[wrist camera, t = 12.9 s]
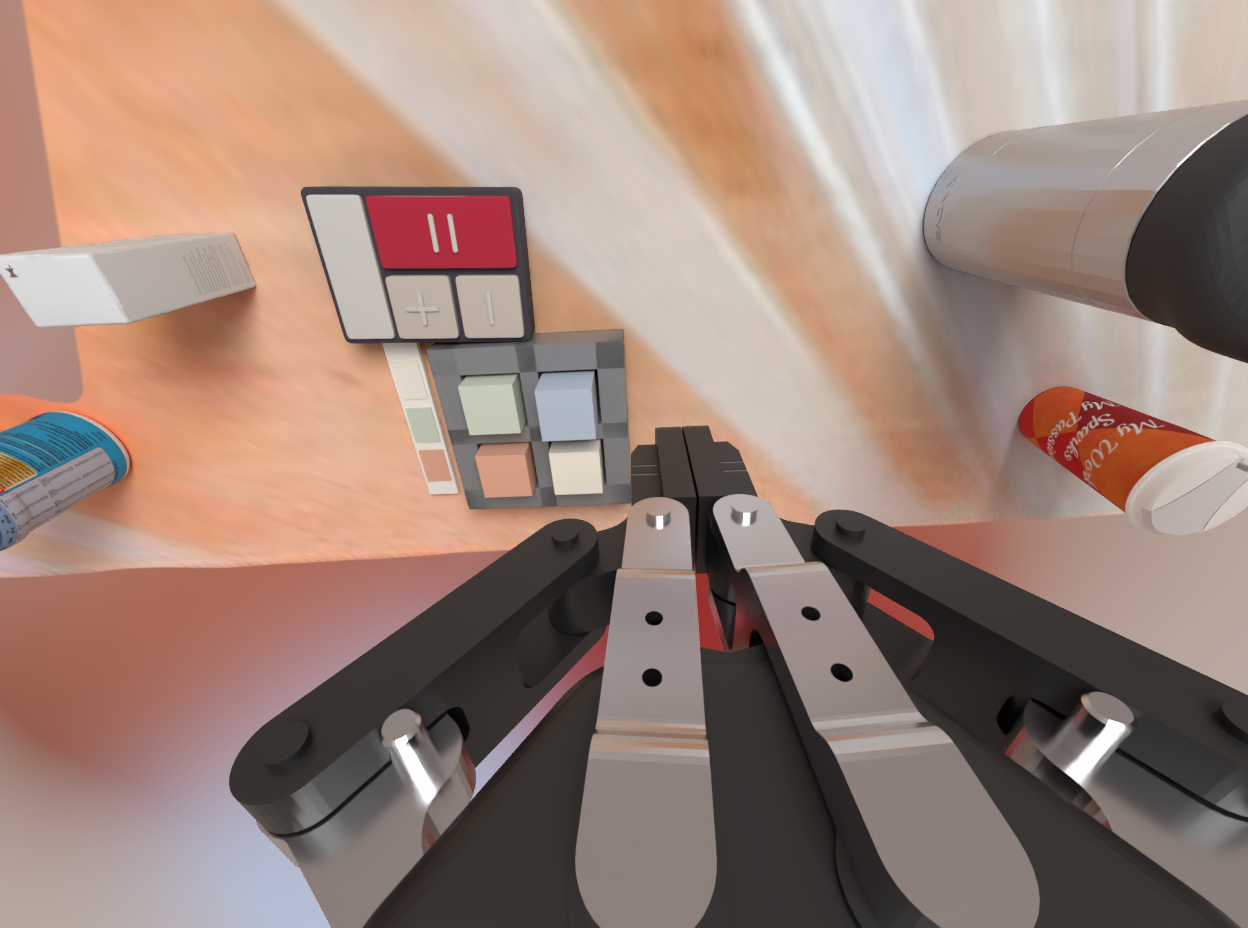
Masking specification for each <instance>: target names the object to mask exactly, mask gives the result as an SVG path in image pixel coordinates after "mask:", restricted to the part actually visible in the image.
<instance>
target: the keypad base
mask: <svg viewBox="0 0 1248 928" xmlns="http://www.w3.org/2000/svg"><path fill="white" fill-rule="evenodd" d="M426 351H427V355H428V358H429V362H430V366H431V370H432V373H433V377H434V381H435V384H436V388H437V392H438V395H439V399H440V403H441V406H442V410H443V414H444V417H445V421H446V425H447V428H448V432H449V436H450V439H451V443H452V447H453V450H454V454H455V458H456V462H457V465H458V469H459V473H460V476H461V480H462V484H463V487H464V491H465V495H466V498H467V502H468V506H469V509H491V508H518V507H544V506H571V505H597V504H624V503H631V470H630V450H629V431H628V411H627V391H626V371H625V351H624V331H623V329H615V330H595V331H575V332H554V333H534V334H533V335H532V337H531V339H530V340H529V341H524V342H436V343H434V344H433V345H432V346H431V347H430V348H428V349H427V350H426ZM588 369H597V371H598V383H599V395H600V407H598V426H597V435H596V439H603V444H604V456H605V466H604V483H603V493H594V494H568V495H555V492H554V485H553V479H552V472H551V465H550V459H549V451H550V447H551V444H552V441H542V436H541V430H540V424H539V417H538V411H537V405H536V398H535V392H534V391H535V389H536V386H537V384H538V382H539V380H540V377H541V375H542V373H546V371H567V370H588ZM502 373H520V379H521V385H522V390H523V396H524V402H525V408H526V414H527V420H526V422H525V424H524V427H523V429H522V432H521V433H512V434H488V435H469V430H468V426H467V422H466V418H465V414H464V410H463V406H462V402H461V398H460V394H459V390H458V386H459V385H460V383H461V382H462V381H463V380H464V379H465V377H466V376H467V375H480V374H502ZM508 442H531V443H532V449H533V454H534V460H535V466H536V472H537V478H538V479H537V482H536V485H535V489H534V492H533V495H532V496H518V497H492V498H485V495H484V491H483V487H482V483H481V479H480V475H479V471H478V467H477V463H476V459H475V456H476V454H477V452H478V450H479V448H480V447H481V445H482V444H485V443H508Z"/></svg>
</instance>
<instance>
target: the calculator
mask: <svg viewBox="0 0 1248 928" xmlns="http://www.w3.org/2000/svg"><path fill="white" fill-rule="evenodd" d="M301 196H302V199H303V203H304V206H305V209H306V213H307V216H308V219H309V222H310V226H311V229H312V232H313V236H314V239H315V242H316V245H317V249H318V252H319V255H320V258H321V262H322V265H323V268H324V272H325V275H326V278H327V281H328V285H329V288H330V291H331V295H332V298H333V301H334V304H335V308H336V311H337V314H338V317H339V321H340V324H341V327H342V331H343V334H344V337H345V339H346V341H347V342H349V343H436V342H524V341H529V340H530V339H531V337H532V335H533V333H534V330H535V324H534V314H533V303H532V292H531V282H530V271H529V260H528V250H527V239H526V229H525V218H524V207H523V197H522V192H521V190H520V189H519V188H516V187H304V188H302V190H301Z"/></svg>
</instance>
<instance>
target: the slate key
mask: <svg viewBox="0 0 1248 928" xmlns="http://www.w3.org/2000/svg"><path fill="white" fill-rule="evenodd" d="M534 392H535V398H536V405H537V411H538V417H539V424H540V430H541V436H542V441H566V440H590V439H596V435H597V426H598V407H597V395H596V383H595V372H594V371H576V372H554V373H542V375H541V377H540V380H539V382H538V384H537V386H536V389H535V391H534Z"/></svg>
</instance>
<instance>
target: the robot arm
mask: <svg viewBox="0 0 1248 928" xmlns="http://www.w3.org/2000/svg"><path fill="white" fill-rule="evenodd" d="M924 237H925V240H926V243H927V247H928V249H929V250H930V252H931V254H932V255H933V257H934V258H935V259H936V260H937V261H939V262H940V263H941V264H942V265H945V266H947V267H949V268H951V269H955V270H958V271H962V272H966V273H970V274H973V275H977V276H981V277H984V278H988V279H991V280H995V281H999V282H1003V283H1006V284H1010V285H1014V286H1018V287H1022V288H1025V289H1029V290H1033V291H1037V292H1040V293H1044V294H1048V295H1052V296H1056V297H1059V298H1063V299H1067V300H1071V301H1074V302H1078V303H1082V304H1086V305H1090V306H1093V307H1097V308H1101V309H1105V310H1108V311H1113V312H1117V313H1121V314H1125V315H1129V316H1132V317H1136V318H1140V319H1144V320H1147V321H1151V322H1155V323H1159V324H1162V325H1166V326H1169V327H1173V328H1175V329H1176V330H1177V331H1178V332H1179V333H1180V334H1181V335H1182V336H1183V337H1185V338H1186V339H1188V340H1189V341H1190V342H1192V343H1194V344H1196V345H1198V346H1200V347H1202V348H1204V349H1207V350H1209V351H1212V352H1215V353H1218V354H1221V355H1223V356H1227V357H1230V358H1233V359H1236V360H1239V361H1242V362H1245V363H1248V100H1241V101H1233V102H1227V103H1221V104H1214V105H1206V106H1199V107H1191V108H1183V109H1176V110H1168V111H1161V112H1153V113H1146V114H1138V115H1131V116H1123V117H1116V118H1108V119H1100V120H1093V121H1085V122H1078V123H1070V124H1063V125H1054V126H1045V127H1038V128H1030V129H1023V130H1015V131H1008V132H1002V133H999V134H995V135H992V136H989V137H987V138H985V139H983V140H981V141H979V142H977V143H975V144H973V145H972V146H971V147H969V148H968V149H967V150H965V151H964V152H963V153H961V154H960V155H959V156H958V157H957V158H956V159H955V160H954V161H953V162H952V163H951V164H950V165H949V166H948V168H947V169H946V170H945V172H944V173H943V174H942V176H941V177H940V179H939V180H938V182H937V184H936V186H935V187H934V189H933V191H932V193H931V195H930V198H929V201H928V204H927V207H926V212H925V218H924ZM631 502H632V507H631V508H630V510H629V513H628V517H627V518H626V519H625V520H624V521H623V522H622V523H620V524H618V525H617V526H614V527H612V528H609V529H606V530H602V531H598V532H597V531H596V529H595V528H594V527H593V526H592V525H591V524H590V523H588V522H586V521H583V520H579V519H562V520H557V521H554V522H552V523H550V524H547V525H546V526H544V527H543V528H541V529H540V530H538V531H537V532H536V533H534V534H533V535H531V536H530V537H529V538H527V539H526V540H524V541H523V542H522V543H520V544H519V545H517V546H516V547H514V548H513V549H512V550H510V551H509V552H508V553H506V554H505V555H503V556H502V557H500V558H499V559H497V560H496V561H495V562H493V563H492V564H490V565H489V566H488V567H486V568H485V569H484V570H482V571H481V572H479V573H478V574H477V575H475V576H474V577H472V578H471V579H469V580H468V581H466V582H465V583H464V584H462V585H461V586H459V587H458V588H456V589H455V590H454V591H452V592H451V593H449V594H448V595H447V596H445V597H444V598H442V599H441V600H440V601H438V602H437V603H435V604H434V605H432V606H431V607H430V608H428V609H427V610H426V611H424V612H423V613H421V614H420V615H418V616H417V617H416V618H414V619H413V620H411V621H410V622H408V623H407V624H406V625H404V626H403V627H401V628H400V629H399V630H397V631H396V632H394V633H393V634H391V635H390V636H389V637H387V638H386V639H384V640H383V641H382V642H380V643H379V644H377V645H376V646H375V647H373V648H372V649H370V650H369V651H368V652H366V653H365V654H363V655H362V656H360V657H359V658H358V659H356V660H355V661H353V662H352V663H351V664H349V665H348V666H346V667H345V668H343V669H342V670H341V671H339V672H338V673H336V674H335V675H334V676H332V677H331V678H329V679H328V680H326V681H325V682H324V683H322V684H321V685H319V686H318V687H317V688H315V689H314V690H312V691H311V692H310V693H308V694H307V695H305V696H304V697H302V698H301V699H300V700H298V701H297V702H296V703H294V704H293V705H291V706H290V707H288V708H287V709H285V710H284V711H283V712H281V713H280V714H279V715H277V716H276V717H274V718H273V719H271V720H270V721H269V722H267V723H266V724H265V725H264V726H262V727H261V728H260V729H259V730H258V731H257V732H256V733H255V734H254V735H253V736H252V737H251V738H250V739H249V740H248V742H247V743H246V744H245V745H244V747H243V748H242V749H241V751H240V753H239V754H238V756H237V757H236V759H235V762H234V764H233V766H232V769H231V773H230V778H229V779H230V780H229V786H230V791H231V793H232V795H233V796H234V797H235V798H236V799H237V801H238V802H239V803H240V804H241V805H242V806H243V807H244V808H245V809H246V810H247V811H248V812H249V813H250V814H251V815H252V816H253V817H254V818H255V819H256V822H257V825H258V827H259V829H260V830H261V831H262V832H263V833H264V834H265V835H266V836H267V837H268V838H269V839H270V840H271V841H272V842H273V843H274V844H275V845H276V846H277V847H278V848H279V849H280V850H281V851H282V852H283V853H284V854H285V855H286V856H287V858H289V860H290V861H291V862H292V863H293V864H294V865H295V866H297V867H299V868H300V869H301V871H302V873H303V875H304V877H305V878H306V880H307V882H308V884H309V886H310V888H311V890H312V892H313V893H314V895H315V897H316V899H317V901H318V903H319V905H320V907H321V909H322V911H323V912H324V914H325V916H326V918H327V920H328V922H329V924H330V926H331V928H1248V695H1246V694H1244V693H1242V692H1240V691H1238V690H1235V689H1233V688H1231V687H1229V686H1227V685H1225V684H1223V683H1220V682H1218V681H1216V680H1214V679H1212V678H1210V677H1208V676H1206V675H1204V674H1201V673H1199V672H1197V671H1195V670H1193V669H1191V668H1188V667H1186V666H1184V665H1182V664H1180V663H1178V662H1176V661H1174V660H1172V659H1170V658H1168V657H1165V656H1163V655H1161V654H1159V653H1157V652H1154V651H1153V650H1151V649H1148V648H1146V647H1144V646H1142V645H1140V644H1138V643H1136V642H1134V641H1131V640H1129V639H1127V638H1125V637H1123V636H1121V635H1119V634H1117V633H1114V632H1112V631H1110V630H1108V629H1106V628H1104V627H1102V626H1100V625H1097V624H1095V623H1093V622H1091V621H1089V620H1087V619H1084V618H1082V617H1080V616H1078V615H1076V614H1074V613H1072V612H1070V611H1067V610H1066V609H1064V608H1061V607H1059V606H1057V605H1055V604H1053V603H1051V602H1049V601H1047V600H1044V599H1042V598H1040V597H1038V596H1036V595H1034V594H1031V593H1029V592H1027V591H1025V590H1023V589H1021V588H1019V587H1017V586H1015V585H1012V584H1010V583H1008V582H1006V581H1004V580H1002V579H1000V578H998V577H996V576H993V575H991V574H989V573H987V572H985V571H983V570H980V569H979V568H976V567H974V566H972V565H970V564H968V563H966V562H963V561H961V560H959V559H957V558H955V557H953V556H951V555H949V554H947V553H945V552H942V551H940V550H938V549H936V548H934V547H932V546H930V545H928V544H926V543H923V542H921V541H919V540H917V539H915V538H913V537H911V536H908V535H906V534H904V533H902V532H900V531H898V530H896V529H894V528H892V527H889V526H887V525H885V524H883V523H881V522H879V521H877V520H875V519H872V518H870V517H868V516H866V515H864V514H861V513H858V512H854V511H849V510H830V511H827V512H824V513H822V514H820V515H819V516H818V517H817V519H816V521H815V525H814V526H813V525H808V524H802V523H796V522H791V521H787V520H784V519H781V518H779V517H778V515H777V513H776V511H775V510H774V508H773V507H772V506H771V505H770V504H769V503H768V502H767V501H765V500H763V499H761V498H759V497H758V496H757V493H756V491H755V489H754V486H753V484H752V481H751V479H750V477H749V474H748V472H747V471H746V467H745V465H744V463H743V460H742V457H741V455H740V453H739V450H738V449H736V448H735V447H734V446H732V445H731V444H730V443H729V442H714V441H713V438H712V435H711V432H710V429H709V426H684V427H682V430H681V427H662V428H655V445H638V446H637V447H636V449H635V450H634V451H633V452H632V454H631ZM694 564H695V569H696V573H707V575H708V580H709V587H708V600H709V604H710V607H711V610H712V614H713V617H714V621H715V624H716V627H717V631H718V634H719V637H720V641H721V644H722V647H723V651H724V652H722V651H717V650H712V649H706V648H701V647H700V640H699V627H698V611H697V597H696V582H695V572H694ZM871 588H872V589H874V590H875V591H877V592H879V593H881V594H883V595H884V596H886V597H888V598H889V599H891V600H893V601H895V602H896V603H898V604H900V605H902V606H903V607H905V608H907V609H908V610H910V611H912V612H914V613H915V614H917V615H919V616H920V617H922V618H923V619H924V620H926V622H928V624H929V625H930V626H931V628H932V630H933V632H934V641H933V640H930V639H928V638H926V637H925V636H923V635H921V634H920V633H918V632H916V631H915V630H913V629H911V628H910V627H908V626H906V625H905V624H903V623H901V622H900V621H898V620H896V619H895V618H893V617H891V616H890V615H888V614H887V613H885V612H883V611H882V610H880V609H878V608H877V607H874V606H873V605H872V604H870V603H868V602H867V601H868V597H869V594H870V591H871ZM607 625H610V626H609V634H608V641H607V649H606V656H605V664H604V666H603V667H600V668H599V669H597V670H595V671H593V672H591V673H589V674H588V675H586V676H585V677H584V678H582V679H581V680H579V681H578V682H577V683H576V684H575V685H574V686H572V687H571V688H570V689H569V690H568V691H567V692H566V693H565V694H564V695H563V696H562V697H561V699H560V700H559V701H558V702H557V703H556V704H555V705H554V707H553V708H552V709H551V710H550V711H549V712H548V713H547V715H546V716H545V717H544V718H543V719H542V720H541V721H540V723H539V724H538V725H537V726H536V727H535V728H534V729H533V731H532V732H531V733H530V734H529V735H528V736H527V737H526V739H525V740H524V741H523V742H522V743H521V744H520V745H519V747H518V748H517V749H516V750H515V751H514V753H512V755H511V756H510V757H509V758H508V759H507V760H506V761H505V763H504V764H503V765H502V766H501V767H500V768H499V769H498V771H497V772H496V773H495V774H494V775H493V776H492V777H491V779H490V780H489V781H488V782H487V783H486V784H485V785H484V787H483V788H482V789H481V790H480V791H479V792H478V793H477V795H476V796H475V797H474V798H473V799H472V801H471V798H472V796H473V793H474V789H475V784H476V771H475V768H476V767H477V765H479V763H480V762H481V761H482V760H483V759H484V758H485V757H486V756H487V755H488V754H489V753H490V752H491V751H492V750H493V749H494V748H495V747H496V746H497V745H498V744H499V743H500V742H501V741H502V740H503V739H504V738H505V737H506V736H507V735H508V734H509V732H510V731H511V730H512V729H513V728H514V727H515V726H516V725H517V724H518V723H519V722H520V721H521V720H522V719H523V718H524V717H525V716H526V715H527V714H528V713H529V712H530V711H531V710H532V709H533V707H535V706H536V704H538V702H539V701H540V700H541V699H542V698H543V697H544V696H545V695H546V694H547V693H548V692H549V691H550V690H551V689H552V688H553V687H554V686H555V685H556V684H557V683H558V682H559V681H560V680H561V679H562V678H563V677H564V676H565V674H567V673H568V671H569V670H570V669H571V668H572V667H573V666H574V665H575V664H576V663H577V662H578V661H579V660H580V659H581V658H582V657H583V656H584V655H585V654H586V653H587V652H588V651H589V650H590V649H591V647H593V646H594V645H595V643H597V641H598V640H599V639H600V638H601V637H602V636H603V634H604V632H605V629H606V626H607Z"/></svg>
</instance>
